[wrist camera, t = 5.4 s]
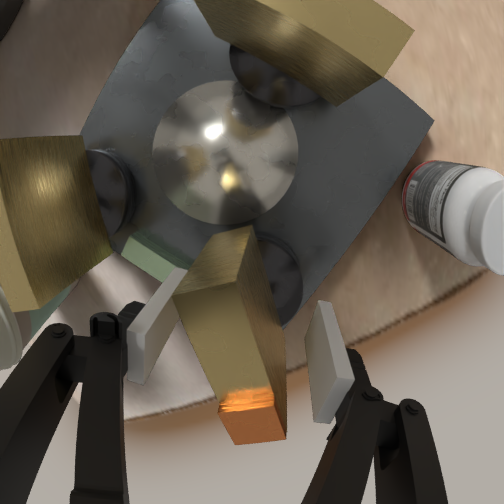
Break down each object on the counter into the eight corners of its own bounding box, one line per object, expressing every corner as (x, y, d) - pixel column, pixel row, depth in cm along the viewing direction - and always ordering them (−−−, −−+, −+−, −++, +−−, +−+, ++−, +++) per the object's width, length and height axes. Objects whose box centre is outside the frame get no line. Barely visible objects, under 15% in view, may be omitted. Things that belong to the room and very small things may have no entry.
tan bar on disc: (190, 234, 21) (119, 312, 11) (285, 209, 20) (295, 274, 10) (226, 335, 23) (197, 449, 13) (311, 317, 22) (331, 433, 12)
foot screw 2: (203, 71, 17) (141, 11, 8) (258, -2, 15) (244, -97, 6) (312, 136, 18) (351, 124, 9) (365, 60, 16) (435, -1, 7)
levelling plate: (66, 200, 23) (42, 208, 20) (190, -17, 16) (179, -36, 13) (269, 331, 25) (268, 355, 22) (422, 122, 19) (442, 119, 16)
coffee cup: (24, 209, 23) (-75, 250, 12) (94, 227, 23) (-11, 287, 12) (28, 290, 26) (-50, 350, 15) (93, 316, 26) (19, 399, 15)
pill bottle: (472, 199, 20) (556, 233, 11) (427, 248, 22) (499, 307, 12) (433, 143, 19) (520, 150, 10) (384, 195, 21) (455, 232, 11)
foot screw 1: (53, 155, 19) (-49, 173, 10) (121, 125, 19) (17, 121, 9) (80, 254, 22) (-7, 314, 12) (150, 238, 21) (68, 305, 11)
